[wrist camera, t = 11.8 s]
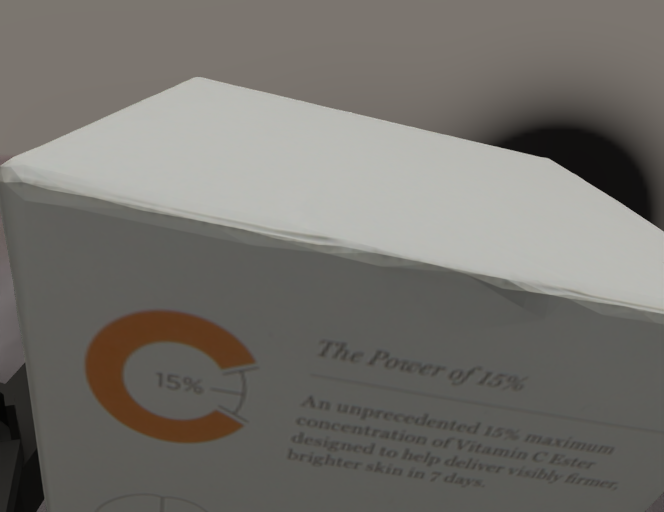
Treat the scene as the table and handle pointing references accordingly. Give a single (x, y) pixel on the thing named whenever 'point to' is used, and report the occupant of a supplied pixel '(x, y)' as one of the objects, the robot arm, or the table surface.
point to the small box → (329, 317)
